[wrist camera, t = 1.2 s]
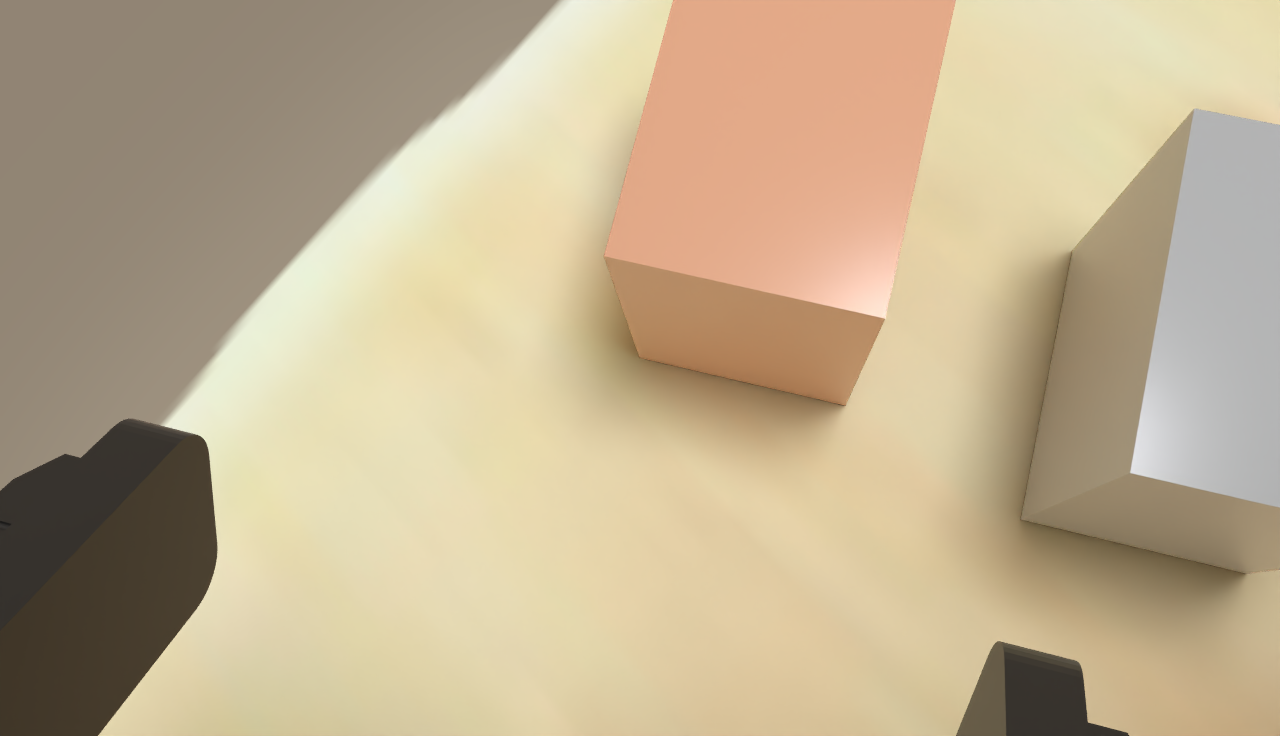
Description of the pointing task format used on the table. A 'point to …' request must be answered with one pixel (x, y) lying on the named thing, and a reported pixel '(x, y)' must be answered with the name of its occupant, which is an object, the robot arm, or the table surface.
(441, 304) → the table surface
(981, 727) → the robot arm
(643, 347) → the terracotta clay block
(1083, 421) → the grey upright block
